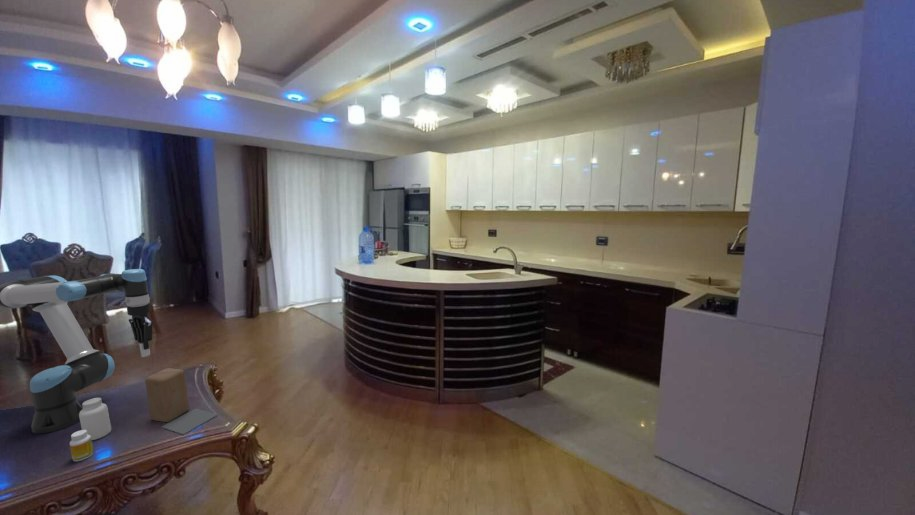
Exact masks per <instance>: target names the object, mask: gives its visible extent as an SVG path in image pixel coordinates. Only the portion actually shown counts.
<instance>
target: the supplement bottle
mask: <svg viewBox="0 0 915 515" xmlns="http://www.w3.org/2000/svg"><path fill="white" fill-rule="evenodd" d="M70 437H71V438H70V439H71V440H70V441H69V450H70V453H71V460H72V461H73V462H80V461H84V460H86V459H89V458H90V457H91V456H93V454H94V446H93V440H91V436H90V435H88V434H87V430H82V429H81V430H77V431H75V432H73V433H72V434H71V435H70Z"/></svg>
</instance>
